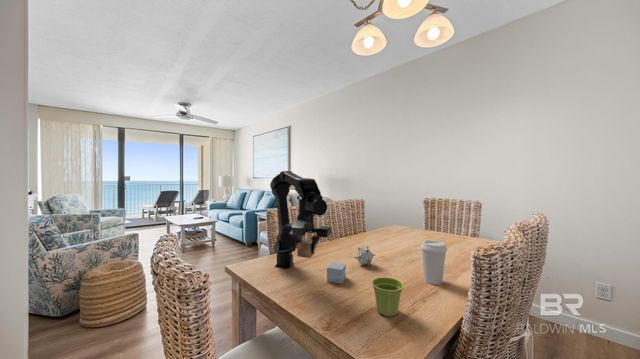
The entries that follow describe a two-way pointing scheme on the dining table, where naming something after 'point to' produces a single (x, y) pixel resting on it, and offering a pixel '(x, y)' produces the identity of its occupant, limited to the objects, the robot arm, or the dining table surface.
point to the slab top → (336, 268)
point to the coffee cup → (433, 261)
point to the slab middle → (335, 276)
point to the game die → (364, 256)
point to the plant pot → (387, 295)
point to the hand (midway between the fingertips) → (306, 252)
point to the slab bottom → (336, 279)
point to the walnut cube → (304, 249)
